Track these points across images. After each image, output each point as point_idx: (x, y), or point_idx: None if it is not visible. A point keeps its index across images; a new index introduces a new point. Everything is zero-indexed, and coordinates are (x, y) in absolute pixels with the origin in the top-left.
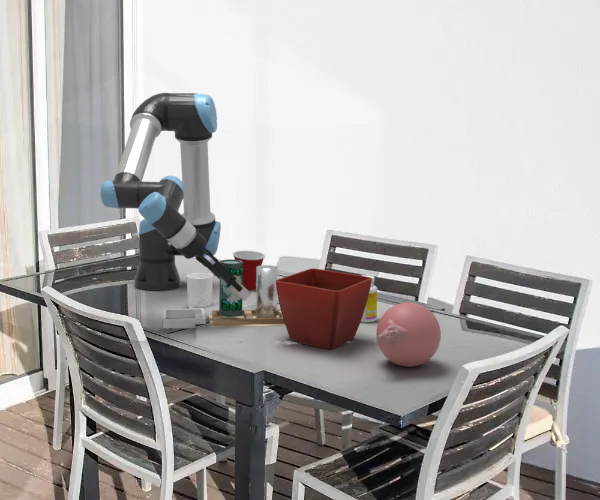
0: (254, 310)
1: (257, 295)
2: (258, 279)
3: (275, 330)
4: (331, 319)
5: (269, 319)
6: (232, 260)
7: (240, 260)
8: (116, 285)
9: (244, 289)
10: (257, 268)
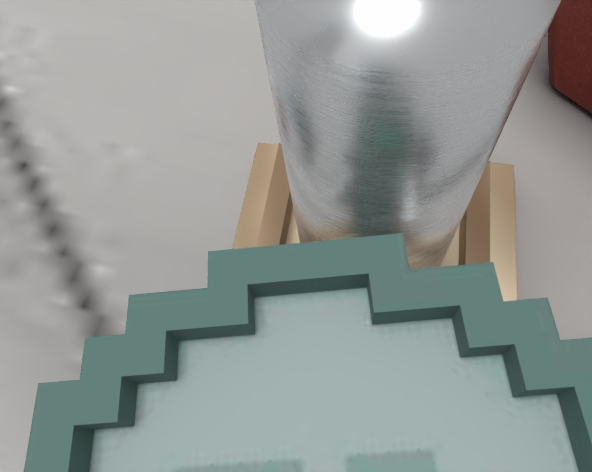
0: None
1: (409, 253)
2: (452, 162)
3: (521, 255)
4: None
5: (488, 255)
6: (79, 469)
7: (227, 257)
8: None
9: None
10: (449, 70)
